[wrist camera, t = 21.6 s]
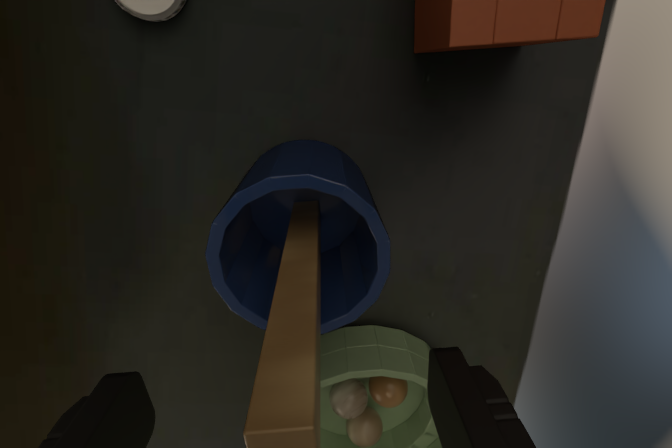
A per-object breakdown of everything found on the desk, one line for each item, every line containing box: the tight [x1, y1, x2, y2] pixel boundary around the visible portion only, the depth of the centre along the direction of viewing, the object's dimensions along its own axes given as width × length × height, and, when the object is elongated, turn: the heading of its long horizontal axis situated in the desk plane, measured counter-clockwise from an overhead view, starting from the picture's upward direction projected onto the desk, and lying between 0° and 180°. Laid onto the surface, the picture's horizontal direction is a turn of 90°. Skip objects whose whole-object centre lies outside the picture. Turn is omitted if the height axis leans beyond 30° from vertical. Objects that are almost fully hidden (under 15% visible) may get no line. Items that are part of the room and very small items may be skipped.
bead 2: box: [346, 406, 383, 448], centre depth 29 cm, size 3×3×3 cm
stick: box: [243, 201, 321, 448], centre depth 16 cm, size 2×2×16 cm
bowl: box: [320, 325, 442, 448], centre depth 28 cm, size 14×14×5 cm
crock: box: [205, 140, 390, 334], centre depth 20 cm, size 8×8×8 cm
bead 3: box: [369, 376, 408, 408], centre depth 27 cm, size 3×3×3 cm
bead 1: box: [329, 378, 368, 419], centre depth 28 cm, size 3×3×3 cm
